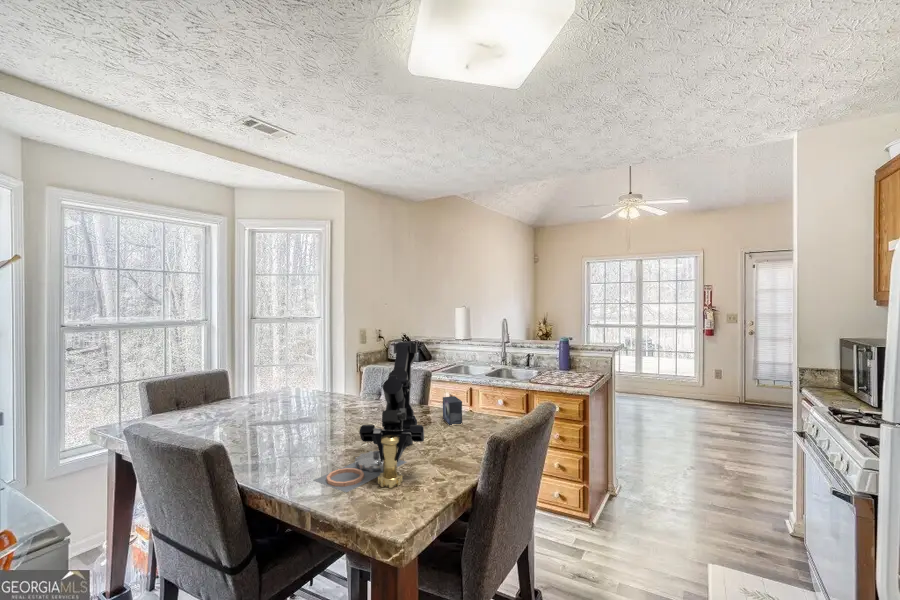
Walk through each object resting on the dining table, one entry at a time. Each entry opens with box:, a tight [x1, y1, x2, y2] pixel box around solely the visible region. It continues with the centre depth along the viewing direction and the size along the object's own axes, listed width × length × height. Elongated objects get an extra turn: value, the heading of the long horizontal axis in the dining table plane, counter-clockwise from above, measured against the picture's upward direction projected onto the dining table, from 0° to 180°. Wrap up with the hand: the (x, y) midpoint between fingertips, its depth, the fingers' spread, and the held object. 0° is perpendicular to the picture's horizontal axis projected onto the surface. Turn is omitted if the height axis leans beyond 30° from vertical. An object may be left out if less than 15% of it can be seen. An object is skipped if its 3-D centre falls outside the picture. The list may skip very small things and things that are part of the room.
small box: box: [442, 395, 463, 426], centre depth 185 cm, size 11×6×10 cm, turn 17°
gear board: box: [313, 459, 407, 493], centre depth 128 cm, size 26×14×2 cm, turn 147°
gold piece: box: [377, 435, 403, 489], centre depth 119 cm, size 7×7×13 cm
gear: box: [354, 450, 383, 473], centre depth 133 cm, size 13×13×4 cm
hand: (389, 461), depth 118 cm, fingers closed on gold piece, 4 cm apart
